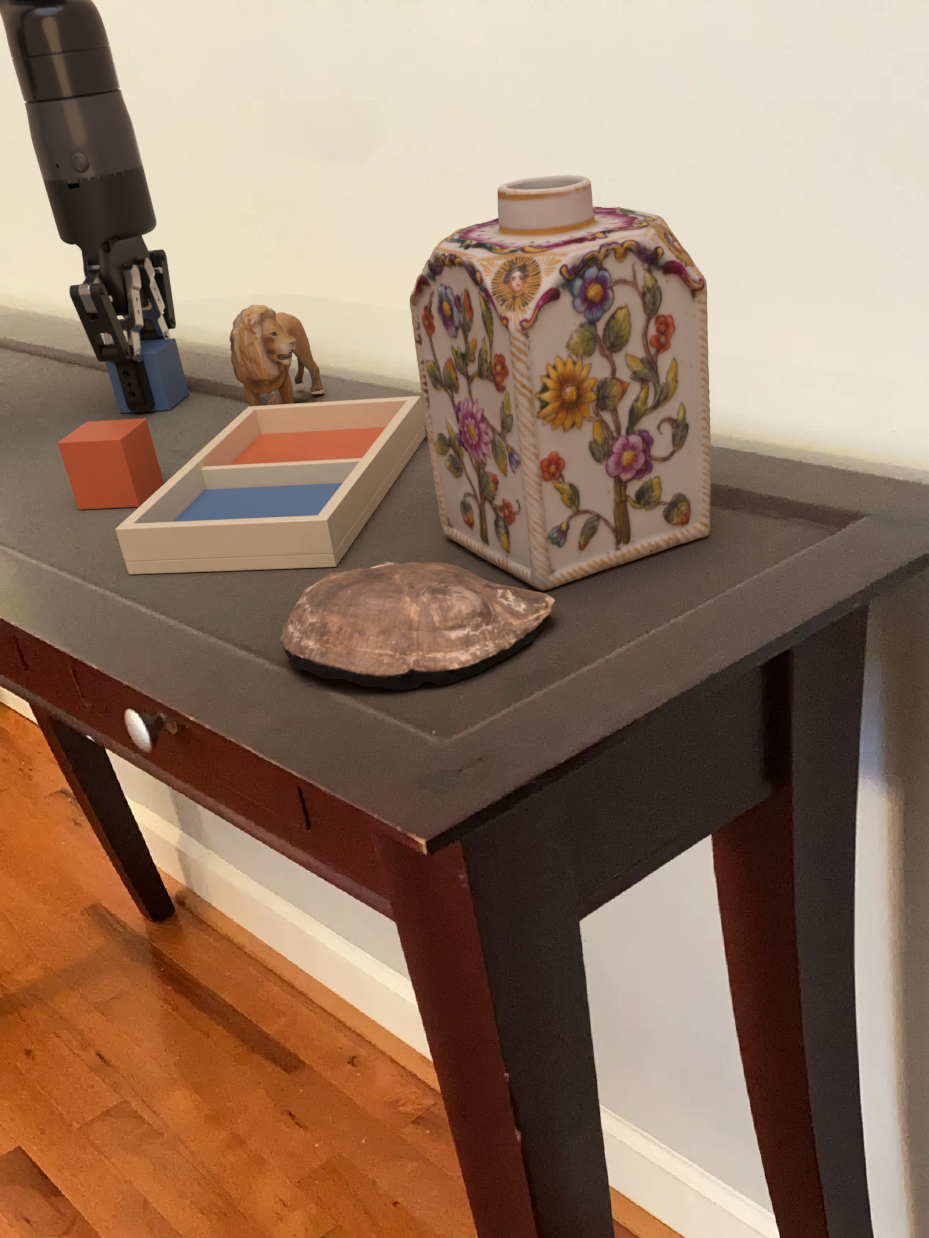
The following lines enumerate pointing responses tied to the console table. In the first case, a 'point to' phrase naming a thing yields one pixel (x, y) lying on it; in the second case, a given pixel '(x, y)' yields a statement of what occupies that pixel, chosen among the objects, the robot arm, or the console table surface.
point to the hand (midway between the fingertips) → (153, 399)
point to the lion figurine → (270, 354)
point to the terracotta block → (111, 464)
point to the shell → (409, 624)
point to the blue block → (157, 375)
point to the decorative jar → (565, 384)
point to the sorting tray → (276, 488)
